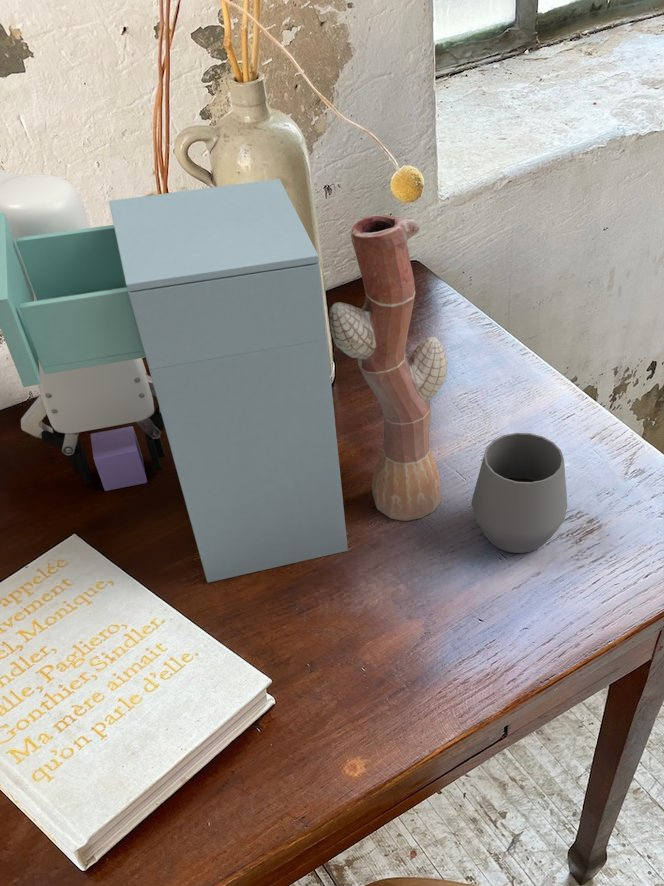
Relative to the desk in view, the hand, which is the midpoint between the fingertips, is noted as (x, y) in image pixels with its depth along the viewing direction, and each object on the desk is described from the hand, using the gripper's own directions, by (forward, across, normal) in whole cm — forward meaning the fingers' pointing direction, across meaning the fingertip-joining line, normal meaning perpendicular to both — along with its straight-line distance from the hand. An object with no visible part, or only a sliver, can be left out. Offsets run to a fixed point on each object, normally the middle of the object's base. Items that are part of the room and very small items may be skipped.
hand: (122, 467), depth 97 cm
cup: (+1, -37, +22) cm, 43 cm away
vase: (+1, -27, +13) cm, 30 cm away
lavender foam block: (+1, 0, 0) cm, 1 cm away
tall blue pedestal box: (+1, -13, +12) cm, 18 cm away
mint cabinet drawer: (-23, -1, +12) cm, 26 cm away
